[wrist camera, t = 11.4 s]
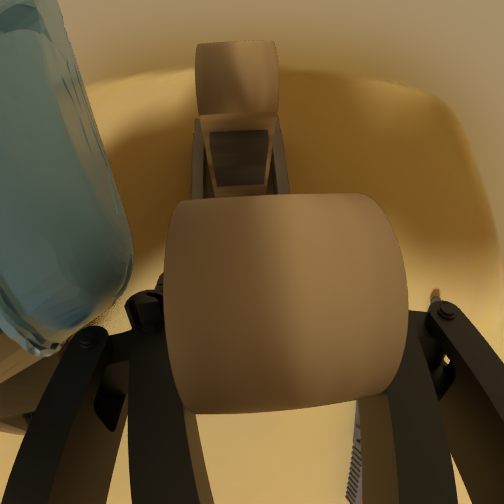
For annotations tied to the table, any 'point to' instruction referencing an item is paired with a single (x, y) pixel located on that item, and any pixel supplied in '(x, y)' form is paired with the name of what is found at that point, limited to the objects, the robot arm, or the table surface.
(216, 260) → the block
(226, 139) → the rail
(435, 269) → the table surface
